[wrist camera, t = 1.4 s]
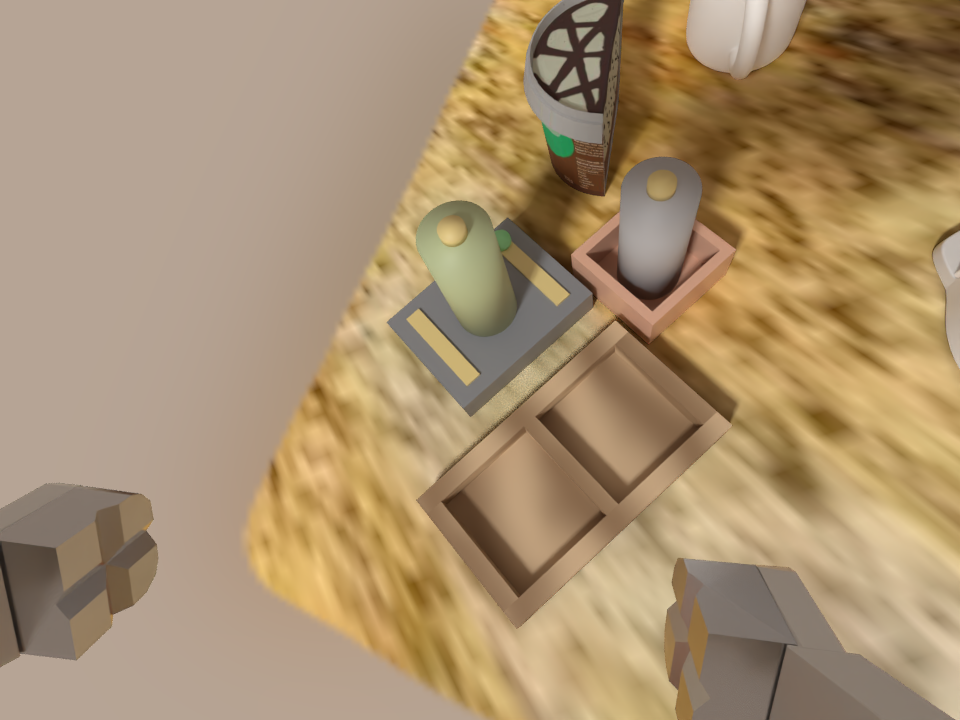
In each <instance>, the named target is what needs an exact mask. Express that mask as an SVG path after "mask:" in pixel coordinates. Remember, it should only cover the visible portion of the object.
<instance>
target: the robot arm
mask: <svg viewBox="0 0 960 720" xmlns="http://www.w3.org/2000/svg"><path fill="white" fill-rule="evenodd" d="M933 261H934V265H935V267H936V270H937V272H938V275H939V277H940V279H941V281H942V283H943V285H944V287H945V289H946V300H947V303H946V332H947V338H948V342H949V346H950V349H951V352H952V354H953V357H954V359H955V361H956V363H957V365H958V367H959V369H960V230H959V231H958V232H956V233H954V234H953V235H951V236H950V237H948V238H947V239H945V240H944V241H942V242H941V243H940V244H938V245H937V246H936V247H935V249H934V251H933ZM153 520H154V519H153V513H152V507H151V502H150V500H149V499H147V498H146V497H145V496H144V495H142V494H138V493H131V492H123V491H117V490H109V489H103V488H95V487H88V486H86V487H84V486H81V485H74V484H64V483H49V484H44V485H43V486H41V487H39V488H37V489H35V490H34V491H32V492H30V493H28V494H27V495H25V496H23V497H21V498H19V499H17V500H16V501H14V502H12V503H10V504H9V505H7V506H5V507H3V508H1V509H0V667H2V666H3V665H5V664H7V663H9V662H11V661H13V660H15V659H16V658H18V657H19V656H20V654H29V655H37V656H45V657H53V658H62V659H70V660H77V659H78V658H80V656H82V655H83V654H84V653H85V652H86V651H87V650H88V649H89V648H90V647H91V646H92V645H93V644H94V643H95V642H96V641H97V640H98V639H99V638H100V637H101V636H102V635H103V634H105V633H106V631H107V630H109V629H110V628H111V626H112V621H113V614H116V613H118V612H120V611H122V610H124V609H127V608H129V607H131V606H133V605H134V604H135V603H136V602H137V601H138V600H139V599H140V598H141V597H142V596H143V595H144V594H145V593H146V592H147V591H148V588H149V587H150V584H151V583H152V581H153V579H154V577H155V575H156V570H157V563H158V551H157V544H156V543H155V541H154V540H153V539H152V538H151V536H150V535H149V534H148V532H147V531H146V530H147V529H148V527H149V526H150V524H151V523H152V521H153ZM672 586H673V589H674V593H675V597H676V600H677V601H676V602H675V603H674V604H673V605H672V606H671V607H669V608H668V609H667V616H666V623H665V639H664V652H665V661H666V668H667V673H668V678H669V681H670V682H671V683H672V684H673V685H674V686H675V687H676V688H677V690H678V695H677V701H676V707H675V710H676V714H677V719H678V720H955V719H953V718H952V717H950V716H949V715H947V714H946V713H945V712H943V711H942V710H940V709H939V708H937V707H936V706H934V705H933V704H931V703H930V702H928V701H927V700H925V699H924V698H923V697H921V696H920V695H918V694H917V693H915V692H914V691H912V690H911V689H909V688H908V687H906V686H905V685H904V684H902V683H901V682H899V681H898V680H896V679H895V678H893V677H892V676H890V675H889V674H887V673H886V672H884V671H883V670H882V669H880V668H879V667H877V666H876V665H874V664H873V663H871V662H870V661H868V660H867V659H865V658H864V657H863V656H861V655H860V654H852V653H847V652H846V651H845V649H844V648H843V646H842V644H841V643H840V641H839V640H838V638H837V636H836V635H835V633H834V632H833V630H832V629H831V627H830V625H829V624H828V622H827V621H826V619H825V617H824V616H823V614H822V613H821V611H820V610H819V608H818V606H817V605H816V603H815V602H814V600H813V598H812V597H811V595H810V594H809V592H808V590H807V589H806V587H805V586H804V584H803V583H802V581H801V579H800V578H799V576H798V575H797V573H796V572H795V571H794V570H792V569H791V568H789V567H777V566H765V565H753V564H752V565H749V564H738V563H727V562H717V561H706V560H695V559H685V558H678V559H677V562H676V565H675V567H674V573H673V578H672Z"/></svg>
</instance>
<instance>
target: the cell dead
mask: <svg viewBox="0 0 960 720" xmlns="http://www.w3.org/2000/svg"><path fill="white" fill-rule="evenodd" d="M701 195H702V182H701V179H700V177H699V175H698V173H697V172H696V171H695V170H694V168H693V167H691V166H690V165H689V164H687V163H686V162H684V161H682V160H679V159H676V158H671V157H655V158H650V159H647V160H644V161H642V162H640V163H639V164H637V165H635V166H634V167H633V168H632V169H631V170H630V171H629V172H628V173H627V175H626V176H625V178H624V180H623V182H622V186H621V202H620V221H619V241H618V261H617V278H618V281H619V283H620V284H621V285H622V286H623V287H625V288H626V289H627V290H628V291H629V292H630V293H632V294H633V295H634V296H635V297H636V298H639V299H644V300H653V299H658V298H661V297H663V296H665V295H667V294H668V293H670V292H671V291H672V290H673V289H674V288H675V286H676V285H677V283H678V281H679V278H680V274H681V270H682V266H683V263H684V259H685V255H686V251H687V248H688V244H689V240H690V236H691V233H692V229H693V225H694V221H695V218H696V214H697V210H698V207H699V203H700V199H701Z"/></svg>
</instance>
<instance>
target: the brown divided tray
mask: <svg viewBox="0 0 960 720" xmlns="http://www.w3.org/2000/svg"><path fill="white" fill-rule="evenodd" d="M732 426H733V425H731V424H730V423H729V422H728V421H727V420H726V419H725V418H724V417H723V416H721V415H720V414H719V413H718V412H717V411H716V410H715V409H714V408H712V407H711V406H710V405H709V404H708V403H707V402H706V401H705V400H704V399H702V398H701V397H700V396H699V395H698V394H697V393H696V392H695V391H693V390H692V389H691V388H690V387H689V386H688V385H687V384H686V383H685V382H683V381H682V380H681V379H680V378H679V377H678V376H677V375H676V374H675V373H673V372H672V371H671V370H670V369H669V368H668V367H667V366H666V365H664V364H663V363H662V362H661V361H660V360H659V359H658V358H657V357H656V356H654V355H653V354H652V353H651V352H650V351H649V350H648V349H647V348H646V347H644V346H643V345H642V344H641V343H640V342H639V341H638V340H637V339H635V338H634V337H633V336H632V335H631V334H630V333H629V332H628V331H627V330H625V329H624V328H623V327H622V326H621V325H620V324H619V323H618V322H617V321H614V322H613V323H612V324H611V325H610V326H609V327H608V328H606V329H605V330H604V331H603V332H602V333H601V334H600V335H599V336H598V337H596V338H595V339H594V340H593V341H592V342H591V343H590V344H589V345H588V346H586V347H585V348H584V349H583V350H582V351H581V352H580V353H579V354H578V355H576V356H575V357H574V358H573V359H572V360H571V361H570V362H569V363H568V364H567V365H565V366H564V367H563V368H562V369H561V370H560V371H559V372H558V373H557V374H555V375H554V376H553V377H552V378H551V379H550V380H549V381H548V382H547V383H545V384H544V385H543V386H542V387H541V388H540V389H539V390H538V391H537V392H535V393H534V394H533V395H532V396H531V397H530V398H529V399H528V400H527V401H526V402H524V403H523V404H522V405H521V406H520V407H519V408H518V409H517V410H516V411H514V412H513V413H512V414H511V415H510V416H509V417H508V418H507V419H506V420H504V421H503V422H502V423H501V424H500V425H499V426H498V427H497V428H496V429H494V430H493V431H492V432H491V433H490V434H489V435H488V436H487V437H486V438H484V439H483V440H482V441H481V442H480V443H479V444H478V445H477V446H476V447H475V448H473V449H472V450H471V451H470V452H469V453H468V454H467V455H466V456H465V457H463V458H462V459H461V460H460V461H459V462H458V463H457V464H456V465H455V466H453V467H452V468H451V469H450V470H449V471H448V472H447V473H446V474H445V475H443V476H442V477H441V478H440V479H439V480H438V481H437V482H436V483H435V484H433V485H432V486H431V487H430V488H429V489H428V490H427V491H426V492H425V493H424V494H422V495H421V496H420V497H419V498H418V499H417V500H416V501H417V502H418V503H419V504H420V506H421V507H422V508H423V510H424V511H425V512H426V513H427V515H428V516H429V517H430V519H431V520H432V521H433V522H434V524H435V525H436V526H437V527H438V529H439V530H440V531H441V533H442V534H443V535H444V536H445V538H446V539H447V540H448V542H449V543H450V544H451V545H452V547H453V548H454V549H455V551H456V552H457V553H458V554H459V556H460V557H461V558H462V559H463V561H464V562H465V563H466V565H467V566H468V567H469V568H470V570H471V571H472V572H473V574H474V575H475V576H476V577H477V579H478V580H479V581H480V582H481V584H482V585H483V586H484V588H485V589H486V590H487V591H488V593H489V594H490V595H491V597H492V598H493V599H494V600H495V602H496V603H497V604H498V606H499V607H500V608H501V609H502V611H503V612H504V613H505V614H506V616H507V617H508V618H509V620H510V621H511V622H512V623H513V625H514V626H515V627H516V629H517V628H519V627H520V626H521V625H522V624H523V623H525V622H526V621H527V620H528V619H529V618H530V617H531V616H532V615H533V614H534V613H535V612H536V611H537V610H538V609H539V608H540V607H542V606H543V605H544V604H545V603H546V602H547V601H548V600H549V599H550V598H551V597H552V596H553V595H554V594H555V593H556V592H557V591H559V590H560V589H561V588H562V587H563V586H564V585H565V584H566V583H567V582H568V581H569V580H570V579H571V578H572V577H573V576H574V575H575V574H577V573H578V572H579V571H580V570H581V569H582V568H583V567H584V566H585V565H586V564H587V563H588V562H589V561H590V560H591V559H592V558H594V557H595V556H596V555H597V554H598V553H599V552H600V551H601V550H602V549H603V548H604V547H605V546H606V545H607V544H608V543H609V542H611V541H612V540H613V539H614V538H615V537H616V536H617V535H618V534H619V533H620V532H621V531H622V530H623V529H624V528H625V527H626V526H627V525H629V524H630V523H631V522H632V521H633V520H634V519H635V518H636V517H637V516H638V515H639V514H640V513H641V512H642V511H643V510H644V509H646V508H647V507H648V506H649V505H650V504H651V503H652V502H653V501H654V500H655V499H656V498H657V497H658V496H659V495H660V494H661V493H662V492H664V491H665V490H666V489H667V488H668V487H669V486H670V485H671V484H672V483H673V482H674V481H675V480H676V479H677V478H678V477H679V476H681V475H682V474H683V473H684V472H685V471H686V470H687V469H688V468H689V467H690V466H691V465H692V464H693V463H694V462H695V461H696V460H698V459H699V458H700V457H701V456H702V455H703V454H704V453H705V452H706V451H707V450H708V449H709V448H710V447H711V446H712V445H713V444H714V443H716V442H717V441H718V440H719V439H720V438H721V437H722V436H723V435H724V434H725V433H726V432H727V431H728V430H729V429H730V428H731V427H732Z"/></svg>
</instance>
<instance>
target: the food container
mask: <svg viewBox="0 0 960 720" xmlns="http://www.w3.org/2000/svg"><path fill="white" fill-rule="evenodd" d="M623 2H624V0H562V1H560V2H559V3H558V4H557V5H555V6H554V7H553V8H552V9H551V10H550V11H549V12H548V13H547V14H546V15H545V16H544V17H543V19H542V20H541V22H540V23H539V24H538V26H537V28H536V30H535V32H534V34H533V36H532V39H531V41H530V44H529V47H528V50H527V54H526V62H525V72H524V90H525V94H526V97H527V101H528V103H529V105H530V106H531V108H532V110H533V112H534V113H535V114H536V115H537V116H538V118H539V119H540V120H541V121H542V125H543V129H544V133H545V138H546V142H547V146H548V150H549V154H550V158H551V162H552V165H553V167H554V169H555V171H556V173H557V174H558V175H559V177H560V178H561V179H562V180H563V181H564V182H565V183H567V184H568V185H569V186H571V187H573V188H574V189H576V190H579V191H581V192H583V193H587V194H591V195H596V196H605V189H606V182H607V176H608V169H609V162H610V155H611V149H612V142H613V135H614V128H615V121H616V115H617V108H618V101H619V82H620V60H621V39H622V17H623Z"/></svg>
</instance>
